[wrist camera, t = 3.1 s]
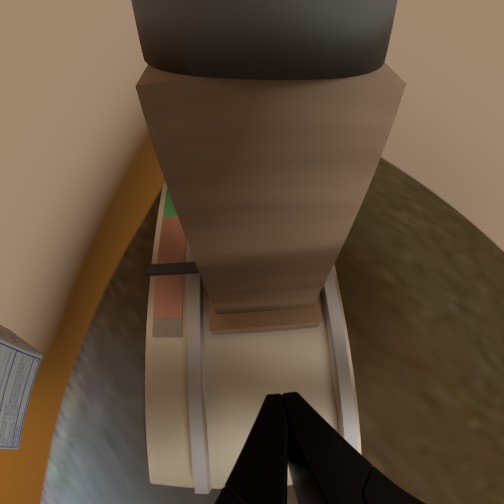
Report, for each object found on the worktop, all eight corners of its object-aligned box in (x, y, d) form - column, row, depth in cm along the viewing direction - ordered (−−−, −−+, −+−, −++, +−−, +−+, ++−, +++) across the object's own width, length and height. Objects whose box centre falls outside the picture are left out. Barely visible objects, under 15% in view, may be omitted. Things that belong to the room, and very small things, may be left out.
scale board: (355, 467, 11) (369, 474, 9) (157, 478, 11) (142, 487, 9) (301, 155, 22) (304, 134, 20) (172, 164, 22) (166, 143, 20)
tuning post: (317, 327, 14) (470, 29, 2) (152, 336, 14) (-57, 102, 2) (301, 227, 17) (340, -26, 5) (160, 236, 17) (72, 6, 5)
